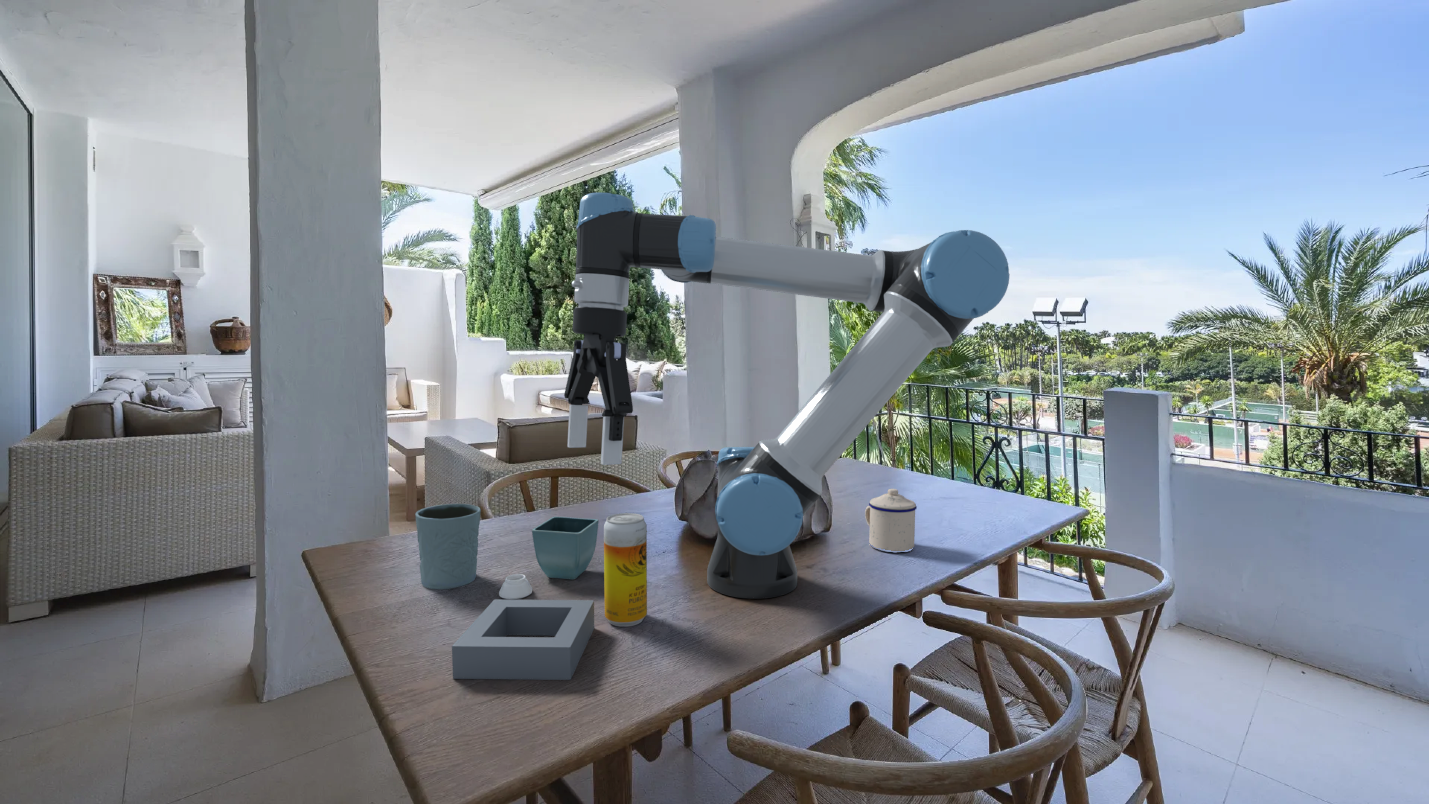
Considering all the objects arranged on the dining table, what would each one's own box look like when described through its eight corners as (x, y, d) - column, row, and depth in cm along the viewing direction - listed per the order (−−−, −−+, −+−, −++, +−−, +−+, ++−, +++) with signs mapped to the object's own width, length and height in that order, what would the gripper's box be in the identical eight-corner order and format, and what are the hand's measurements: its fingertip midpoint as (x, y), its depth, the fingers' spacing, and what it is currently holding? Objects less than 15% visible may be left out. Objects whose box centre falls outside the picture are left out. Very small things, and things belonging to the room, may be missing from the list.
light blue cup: (425, 571, 111) (423, 504, 110) (486, 567, 113) (484, 501, 112) (410, 593, 101) (408, 519, 100) (477, 588, 103) (475, 516, 102)
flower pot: (580, 585, 105) (579, 532, 104) (531, 581, 106) (530, 529, 106) (600, 568, 113) (599, 518, 112) (554, 564, 115) (553, 516, 114)
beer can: (637, 630, 88) (636, 525, 87) (597, 625, 90) (596, 521, 88) (653, 613, 94) (652, 514, 92) (615, 608, 95) (614, 511, 94)
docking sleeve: (594, 627, 89) (594, 600, 88) (570, 679, 75) (570, 647, 74) (495, 627, 89) (494, 599, 89) (452, 678, 75) (451, 646, 75)
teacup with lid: (925, 550, 124) (927, 491, 123) (890, 557, 120) (892, 496, 119) (882, 534, 134) (883, 480, 133) (848, 540, 130) (850, 484, 129)
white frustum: (525, 587, 104) (495, 593, 101) (525, 569, 104) (494, 575, 101) (536, 596, 100) (505, 604, 97) (536, 578, 100) (504, 585, 97)
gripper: (547, 306, 98) (541, 441, 100) (610, 302, 77) (600, 473, 79) (593, 311, 102) (586, 440, 104) (664, 308, 81) (654, 470, 83)
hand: (592, 455), depth 92 cm, fingers open, 13 cm apart
